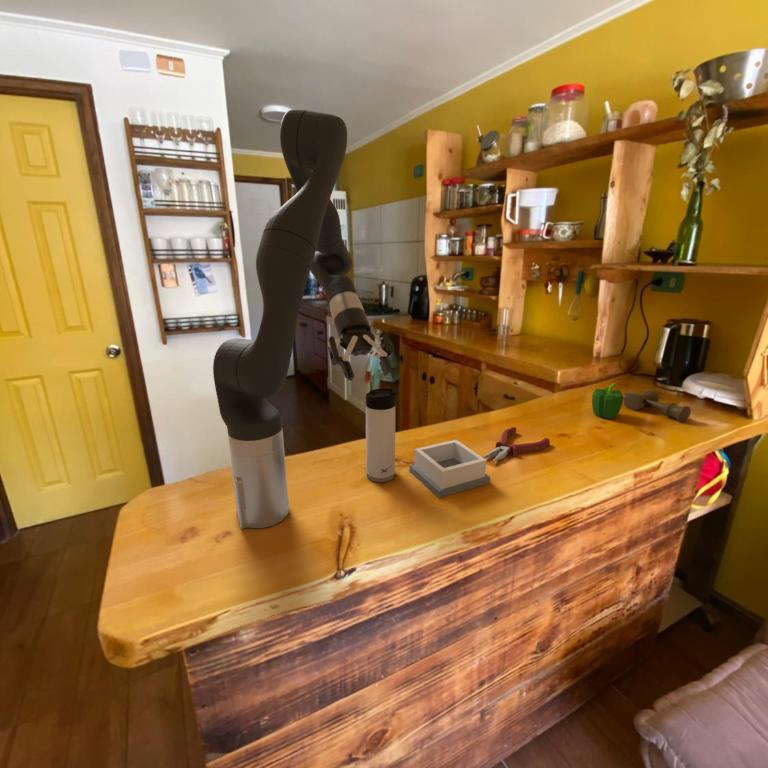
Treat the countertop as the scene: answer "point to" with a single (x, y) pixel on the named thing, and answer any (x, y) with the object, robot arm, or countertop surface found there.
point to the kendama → (655, 404)
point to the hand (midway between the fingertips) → (369, 376)
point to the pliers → (514, 446)
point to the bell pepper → (607, 402)
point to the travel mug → (380, 434)
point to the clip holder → (449, 468)
